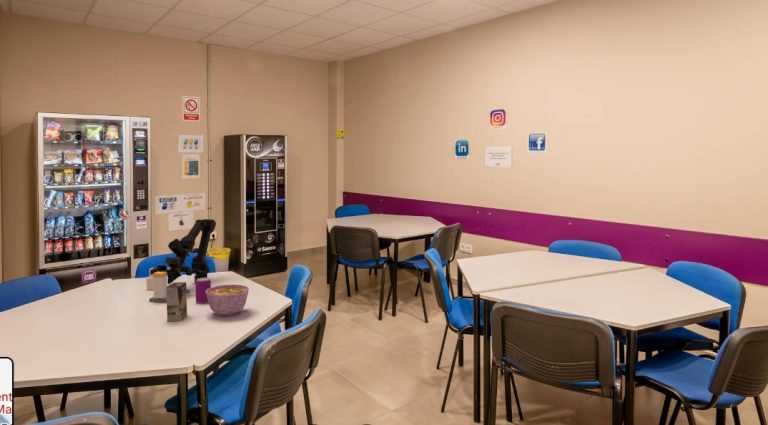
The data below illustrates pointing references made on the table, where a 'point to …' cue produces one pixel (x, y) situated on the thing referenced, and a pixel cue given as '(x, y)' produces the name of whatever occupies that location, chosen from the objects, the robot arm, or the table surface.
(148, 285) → the medicine bottle
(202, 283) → the beverage can
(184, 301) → the coffee box
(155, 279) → the fader knob
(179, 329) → the table surface
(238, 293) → the bowl of food
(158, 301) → the board
